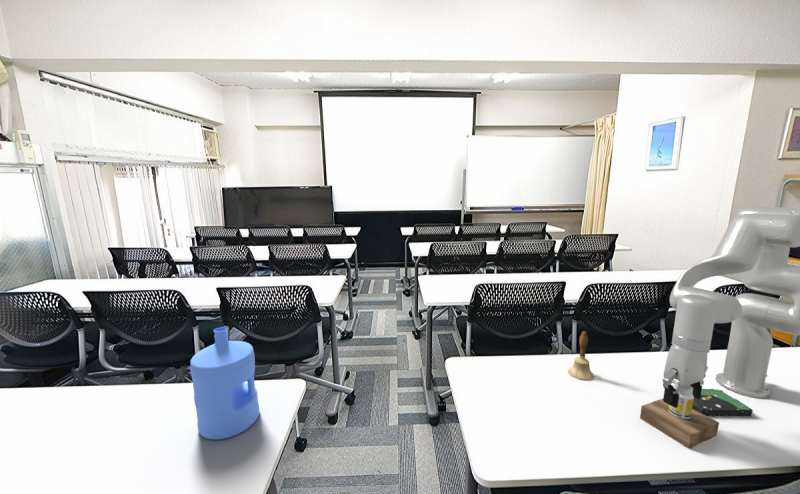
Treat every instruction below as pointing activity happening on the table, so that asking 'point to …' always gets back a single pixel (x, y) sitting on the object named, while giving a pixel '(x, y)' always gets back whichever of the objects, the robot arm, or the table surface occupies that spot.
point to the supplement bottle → (683, 403)
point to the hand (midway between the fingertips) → (681, 400)
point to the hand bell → (581, 362)
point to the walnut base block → (679, 424)
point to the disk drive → (720, 404)
